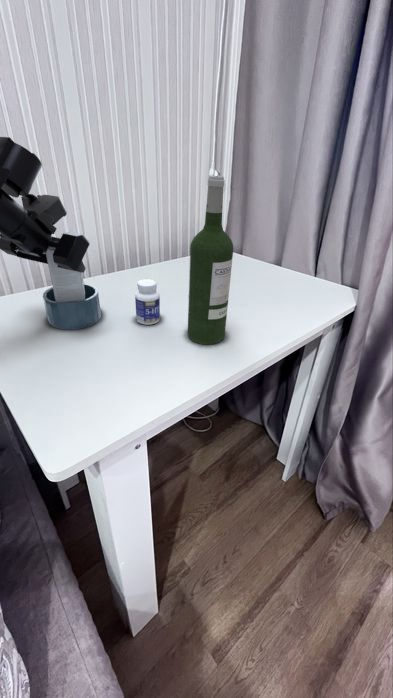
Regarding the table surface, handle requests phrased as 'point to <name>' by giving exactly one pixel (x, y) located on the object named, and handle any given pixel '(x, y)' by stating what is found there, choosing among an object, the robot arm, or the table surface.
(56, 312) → the bowl
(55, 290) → the cosmetic box
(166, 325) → the table surface
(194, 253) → the wine bottle
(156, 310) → the pill bottle
